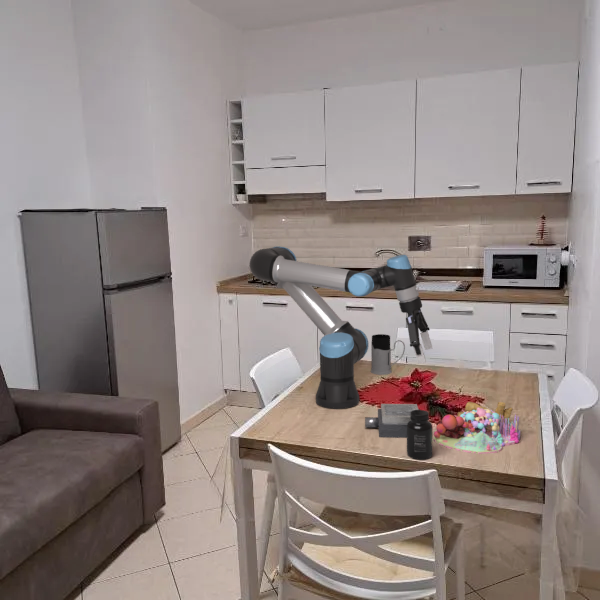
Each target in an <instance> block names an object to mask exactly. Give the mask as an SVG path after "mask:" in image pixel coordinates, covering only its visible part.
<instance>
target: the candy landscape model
mask: <svg viewBox="0 0 600 600" xmlns="http://www.w3.org/2000/svg"><path fill="white" fill-rule="evenodd" d="M506 407H507V405H506V402H503V401H500V402H499V401H498V402H497V406H496V409H495V411H493V410H492V409H488V408H487V407H485V406H482V405H480V404H478V403H476V402H472V401H468V402H467V403H466V404H465V407H464V411H458V412H457V416H456V417H455V416H454V415H452V414H446V415H444V416H443V417H442V419H441V421H439V422H438V424H437V425H436V427H435V428H436V429H435V431H434V432H433V441H434V442H435V443H436V444H438V445H439V446H441V447H445V448H448V449H450V450H455V451H459V452H464V453H468V454H477V455H482V454H483V455H484V454H496V453H500V452H501V451H502V448H503V447H505V446H511V445H516V444H518V443H519V442H520V438H521V430H520V429H519V420H520V416H519V415H517V414H516V413H515V415H514V416H513V417H514V419H513V420H512V421H510V418H511V415H512V412H513V410H514V409H513V407H509V408H506Z"/></svg>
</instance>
